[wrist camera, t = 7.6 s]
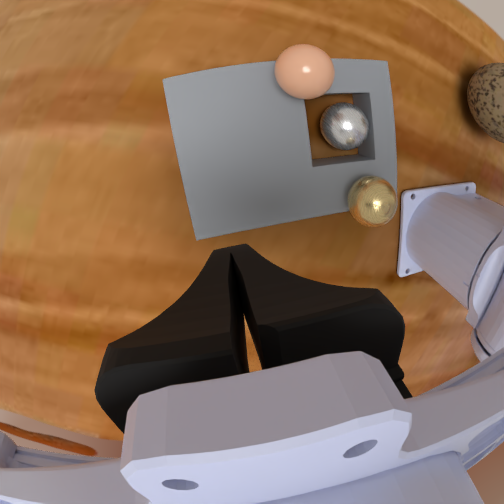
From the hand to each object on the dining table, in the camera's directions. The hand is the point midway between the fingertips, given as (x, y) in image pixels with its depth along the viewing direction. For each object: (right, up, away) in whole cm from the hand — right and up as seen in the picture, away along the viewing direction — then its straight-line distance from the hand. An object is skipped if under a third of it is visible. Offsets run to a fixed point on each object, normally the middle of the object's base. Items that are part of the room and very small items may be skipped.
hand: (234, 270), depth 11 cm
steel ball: (+7, +9, +6) cm, 13 cm away
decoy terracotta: (+3, +10, +2) cm, 11 cm away
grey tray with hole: (+3, +8, +8) cm, 12 cm away
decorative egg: (+21, +15, +8) cm, 27 cm away
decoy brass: (+8, +4, +6) cm, 11 cm away
